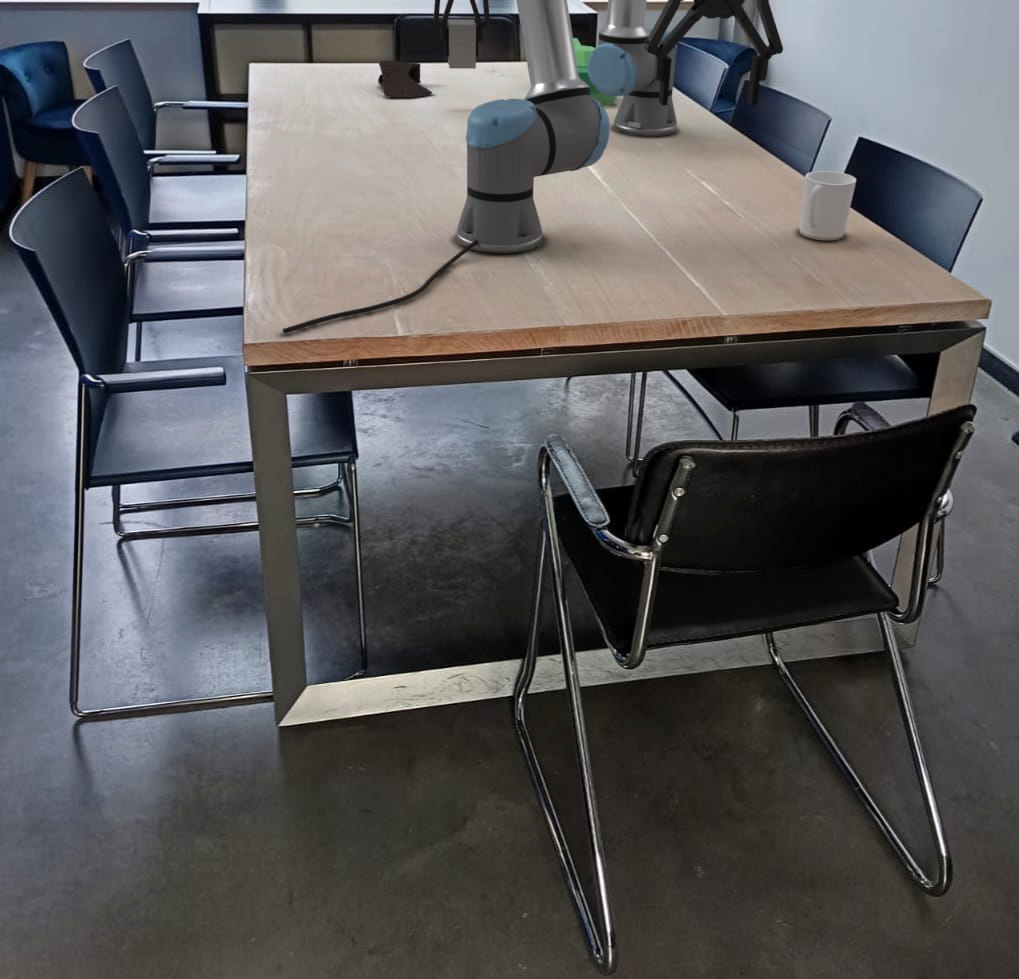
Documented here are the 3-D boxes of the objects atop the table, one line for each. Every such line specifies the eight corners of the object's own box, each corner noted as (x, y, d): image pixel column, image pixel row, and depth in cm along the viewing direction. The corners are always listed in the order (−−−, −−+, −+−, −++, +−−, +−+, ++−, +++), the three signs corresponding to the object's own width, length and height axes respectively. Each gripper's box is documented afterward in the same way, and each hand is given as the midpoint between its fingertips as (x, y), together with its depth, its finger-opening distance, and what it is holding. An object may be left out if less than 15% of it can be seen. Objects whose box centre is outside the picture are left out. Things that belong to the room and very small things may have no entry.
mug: (809, 222, 208) (818, 168, 202) (854, 233, 203) (864, 177, 197) (782, 236, 200) (791, 180, 195) (827, 247, 195) (838, 190, 190)
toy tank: (604, 35, 312) (620, 58, 282) (601, 80, 318) (617, 107, 288) (542, 33, 311) (552, 56, 281) (541, 79, 317) (550, 106, 288)
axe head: (443, 87, 294) (392, 77, 287) (436, 115, 299) (385, 106, 292) (421, 62, 307) (371, 52, 300) (414, 89, 311) (365, 80, 304)
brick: (475, 68, 273) (476, 24, 267) (449, 68, 272) (449, 24, 267) (473, 62, 279) (473, 19, 274) (447, 62, 279) (447, 19, 273)
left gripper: (802, -56, 157) (780, 97, 168) (631, -58, 155) (620, 97, 166) (820, -50, 151) (795, 108, 162) (642, -53, 149) (630, 109, 160)
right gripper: (500, -48, 266) (499, 52, 279) (420, -49, 265) (422, 52, 277) (503, -44, 260) (501, 58, 272) (421, -46, 258) (423, 58, 270)
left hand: (707, 103), depth 164 cm, fingers open, 13 cm apart
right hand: (461, 55), depth 274 cm, fingers closed on brick, 7 cm apart
